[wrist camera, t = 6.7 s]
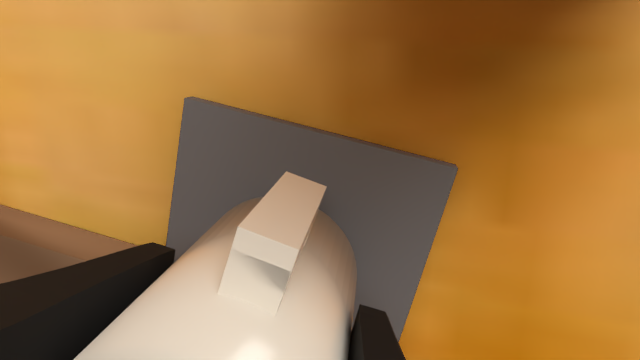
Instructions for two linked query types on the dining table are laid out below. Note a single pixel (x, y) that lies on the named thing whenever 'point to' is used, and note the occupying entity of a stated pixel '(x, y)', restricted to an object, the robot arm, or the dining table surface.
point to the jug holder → (46, 245)
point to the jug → (248, 289)
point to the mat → (338, 201)
